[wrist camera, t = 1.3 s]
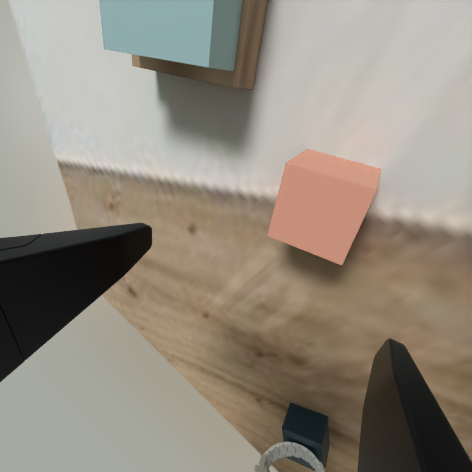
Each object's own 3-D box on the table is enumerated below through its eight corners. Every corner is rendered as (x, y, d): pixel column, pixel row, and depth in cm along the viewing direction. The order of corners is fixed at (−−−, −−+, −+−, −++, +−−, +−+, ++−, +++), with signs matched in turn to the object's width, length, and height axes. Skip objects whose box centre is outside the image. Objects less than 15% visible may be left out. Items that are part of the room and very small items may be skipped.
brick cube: (380, 168, 18) (377, 189, 14) (351, 232, 20) (341, 265, 16) (308, 148, 19) (286, 162, 15) (290, 210, 22) (267, 235, 18)
